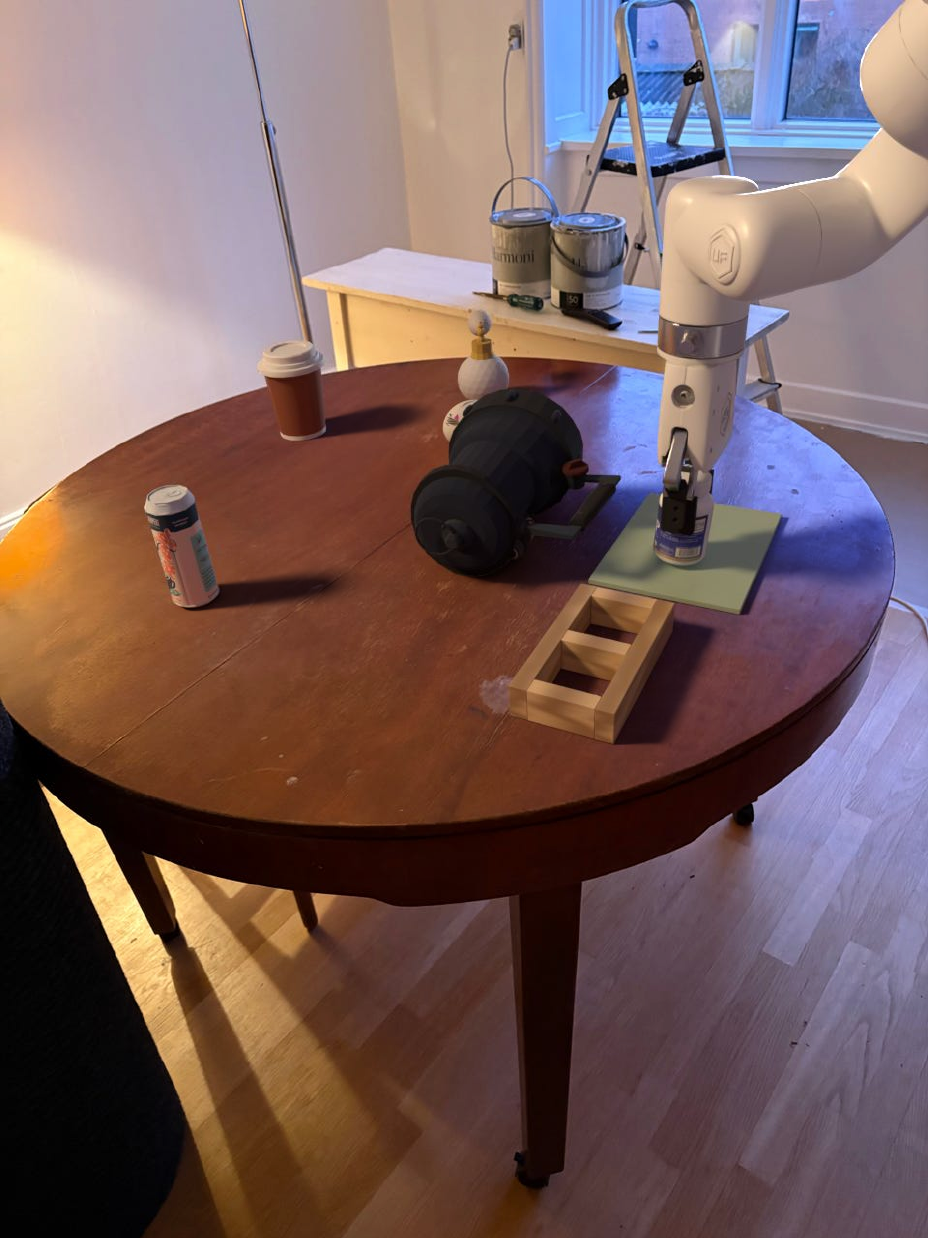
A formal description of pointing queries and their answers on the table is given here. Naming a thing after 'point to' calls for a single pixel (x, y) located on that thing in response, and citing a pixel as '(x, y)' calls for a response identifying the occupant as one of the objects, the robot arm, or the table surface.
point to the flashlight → (504, 483)
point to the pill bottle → (684, 546)
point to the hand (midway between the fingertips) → (686, 516)
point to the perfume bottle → (481, 362)
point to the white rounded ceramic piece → (454, 418)
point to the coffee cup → (295, 388)
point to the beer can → (181, 545)
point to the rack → (592, 662)
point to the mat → (706, 583)
